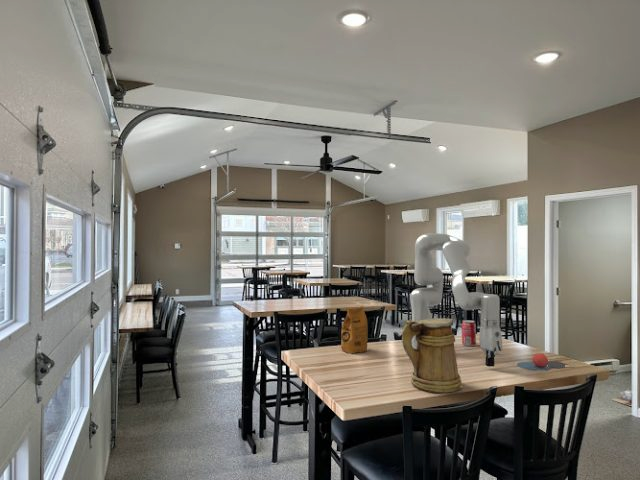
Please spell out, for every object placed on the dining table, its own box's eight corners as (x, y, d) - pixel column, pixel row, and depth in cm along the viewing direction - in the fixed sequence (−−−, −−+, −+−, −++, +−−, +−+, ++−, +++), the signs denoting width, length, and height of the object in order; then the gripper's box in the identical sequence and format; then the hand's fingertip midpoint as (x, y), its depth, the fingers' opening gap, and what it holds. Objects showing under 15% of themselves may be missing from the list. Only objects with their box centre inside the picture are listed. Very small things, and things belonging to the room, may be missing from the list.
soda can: (477, 347, 221) (477, 322, 221) (462, 346, 222) (462, 321, 222) (474, 344, 228) (474, 320, 228) (460, 343, 229) (461, 319, 229)
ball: (541, 348, 185) (549, 358, 186) (528, 354, 188) (536, 363, 189) (543, 356, 180) (552, 366, 181) (530, 362, 183) (539, 372, 183)
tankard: (472, 390, 153) (472, 322, 154) (416, 397, 146) (416, 325, 146) (442, 376, 171) (442, 314, 171) (391, 381, 163) (391, 317, 163)
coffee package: (338, 350, 211) (338, 306, 212) (357, 347, 218) (357, 304, 219) (350, 354, 203) (351, 309, 203) (370, 351, 210) (370, 307, 211)
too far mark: (555, 368, 182) (555, 368, 182) (538, 362, 192) (538, 361, 192) (574, 367, 185) (574, 366, 185) (556, 361, 195) (556, 360, 195)
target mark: (512, 366, 186) (512, 365, 186) (523, 360, 195) (523, 360, 195) (544, 372, 177) (544, 372, 177) (554, 366, 185) (554, 366, 185)
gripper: (509, 326, 174) (509, 370, 174) (486, 319, 189) (486, 360, 189) (493, 326, 173) (493, 371, 172) (472, 320, 187) (472, 361, 187)
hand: (489, 365), depth 181 cm, fingers closed
